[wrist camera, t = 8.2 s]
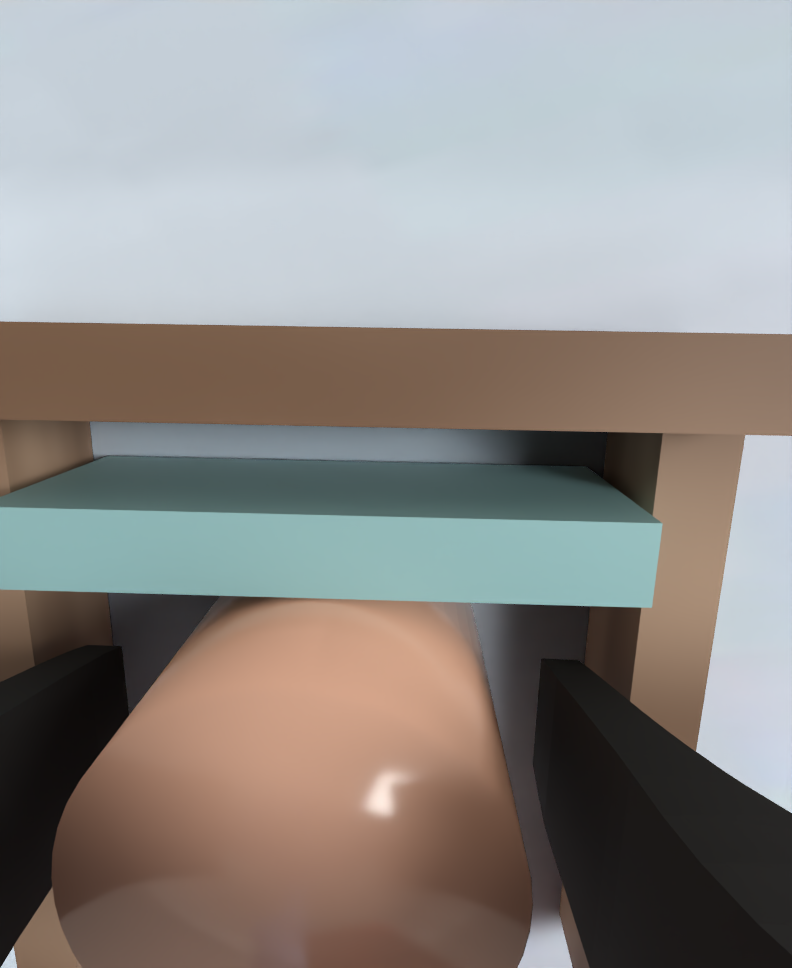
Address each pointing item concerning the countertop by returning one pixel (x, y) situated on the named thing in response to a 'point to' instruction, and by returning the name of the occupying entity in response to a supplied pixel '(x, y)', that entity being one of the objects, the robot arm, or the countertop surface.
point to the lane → (418, 404)
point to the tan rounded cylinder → (302, 800)
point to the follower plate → (331, 532)
